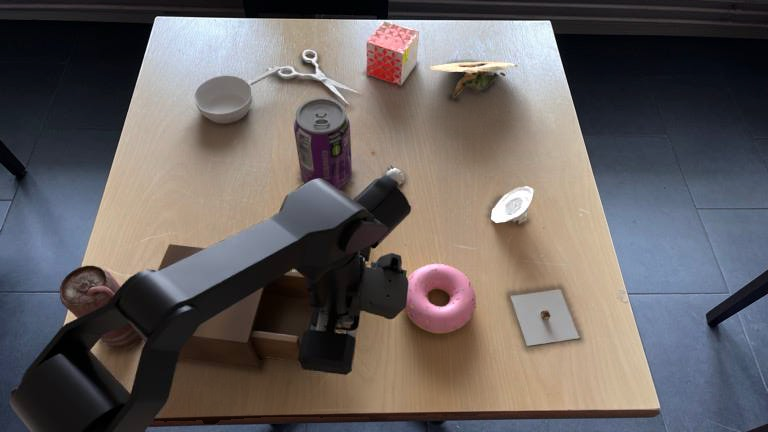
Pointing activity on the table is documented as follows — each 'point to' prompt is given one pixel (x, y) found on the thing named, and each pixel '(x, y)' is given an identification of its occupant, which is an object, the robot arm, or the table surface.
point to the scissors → (314, 75)
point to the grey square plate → (544, 317)
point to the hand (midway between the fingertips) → (341, 323)
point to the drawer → (283, 318)
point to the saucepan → (227, 96)
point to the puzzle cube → (392, 52)
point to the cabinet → (220, 326)
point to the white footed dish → (513, 205)
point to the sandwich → (474, 73)
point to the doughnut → (432, 315)
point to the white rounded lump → (396, 175)
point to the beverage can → (323, 141)
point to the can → (95, 300)
